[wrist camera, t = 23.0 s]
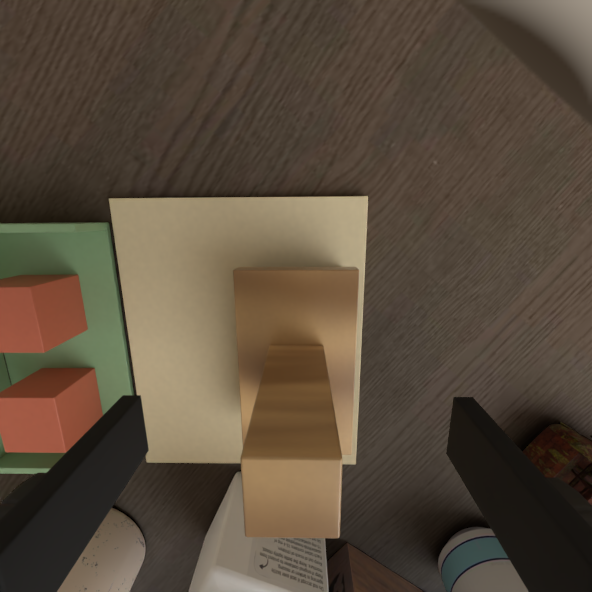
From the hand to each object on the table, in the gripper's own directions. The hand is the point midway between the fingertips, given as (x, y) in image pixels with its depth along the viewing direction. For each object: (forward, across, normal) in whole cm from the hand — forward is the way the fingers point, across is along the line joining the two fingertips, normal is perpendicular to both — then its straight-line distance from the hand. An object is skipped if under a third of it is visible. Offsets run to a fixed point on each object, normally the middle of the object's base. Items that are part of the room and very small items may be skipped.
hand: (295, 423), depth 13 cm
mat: (+10, -4, 0) cm, 11 cm away
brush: (+9, 0, 0) cm, 9 cm away
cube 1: (+9, -17, -4) cm, 20 cm away
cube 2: (+9, -17, +3) cm, 20 cm away
